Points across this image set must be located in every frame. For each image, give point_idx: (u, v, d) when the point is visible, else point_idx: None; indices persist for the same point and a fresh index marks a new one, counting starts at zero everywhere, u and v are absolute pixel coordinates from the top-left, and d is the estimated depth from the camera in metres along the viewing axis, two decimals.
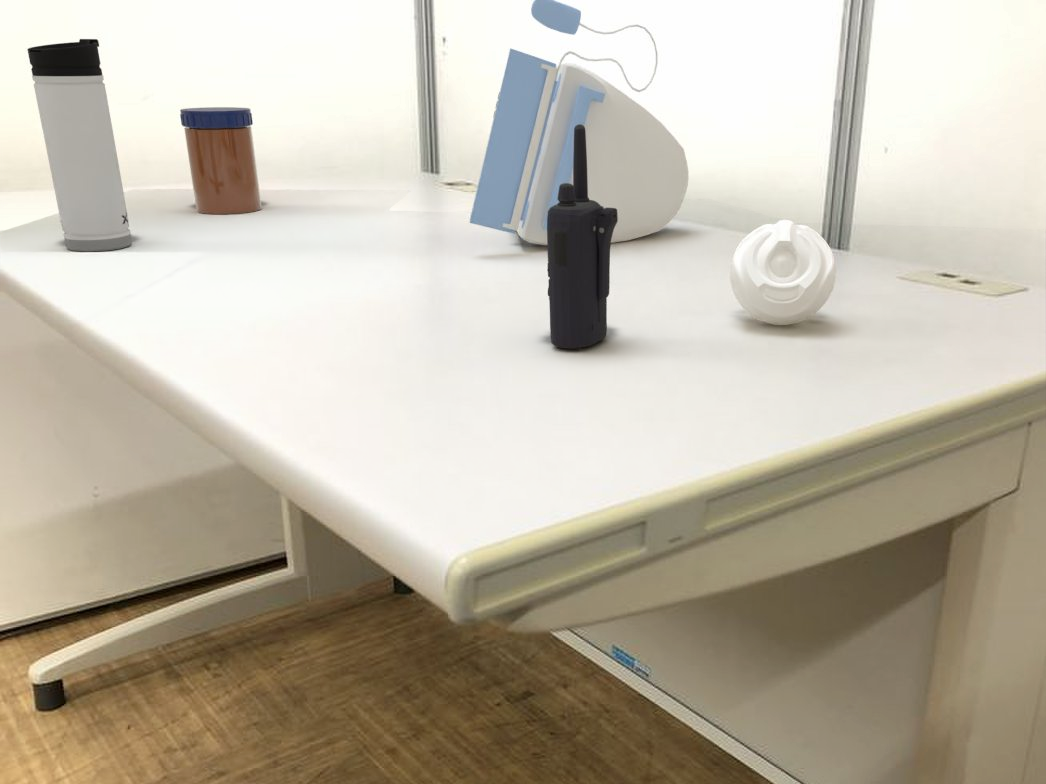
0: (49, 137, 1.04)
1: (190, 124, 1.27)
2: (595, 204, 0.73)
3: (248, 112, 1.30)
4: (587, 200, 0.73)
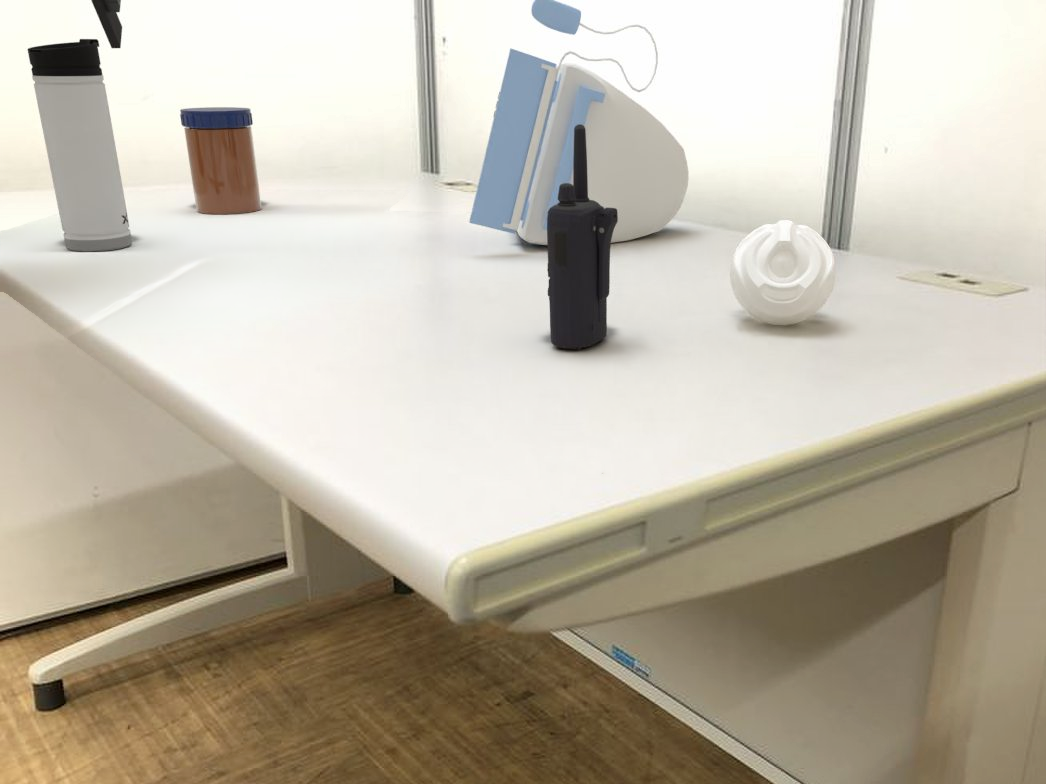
0: (49, 137, 1.04)
1: (190, 124, 1.27)
2: (595, 204, 0.73)
3: (248, 112, 1.30)
4: (587, 200, 0.73)
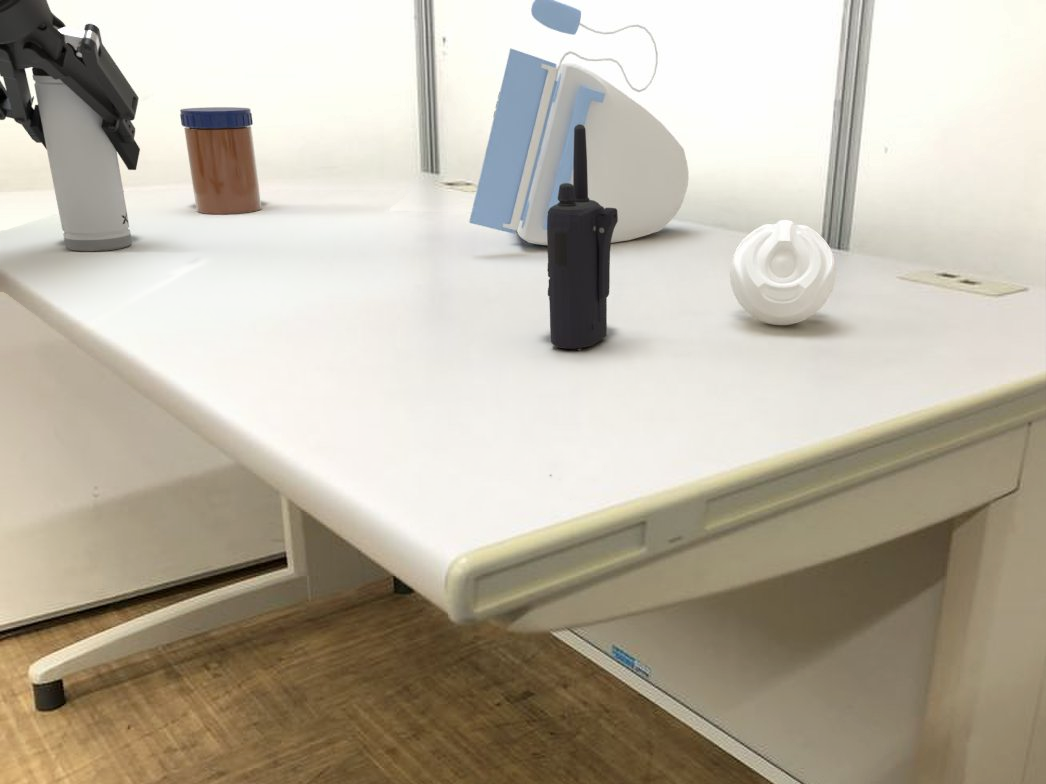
0: (50, 137, 1.04)
1: (190, 124, 1.27)
2: (595, 204, 0.73)
3: (248, 112, 1.30)
4: (587, 200, 0.73)
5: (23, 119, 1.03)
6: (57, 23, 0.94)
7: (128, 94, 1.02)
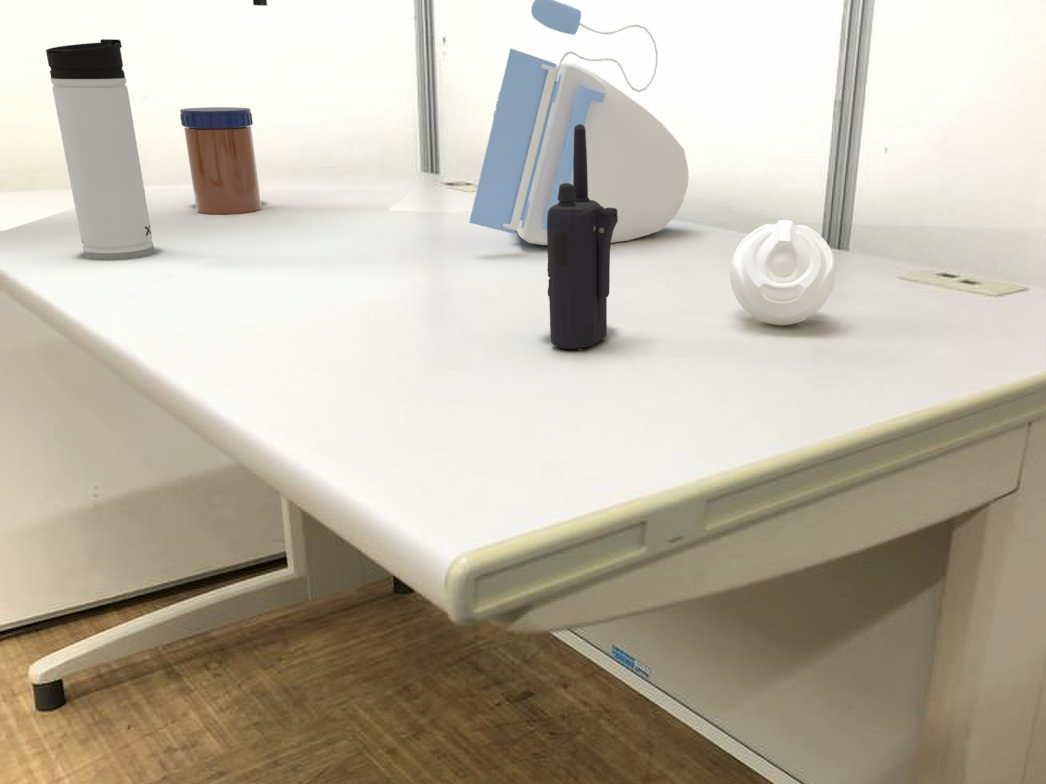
0: (69, 144, 0.97)
1: (190, 124, 1.27)
2: (595, 204, 0.73)
3: (248, 112, 1.30)
4: (587, 200, 0.73)
5: None
6: None
7: None
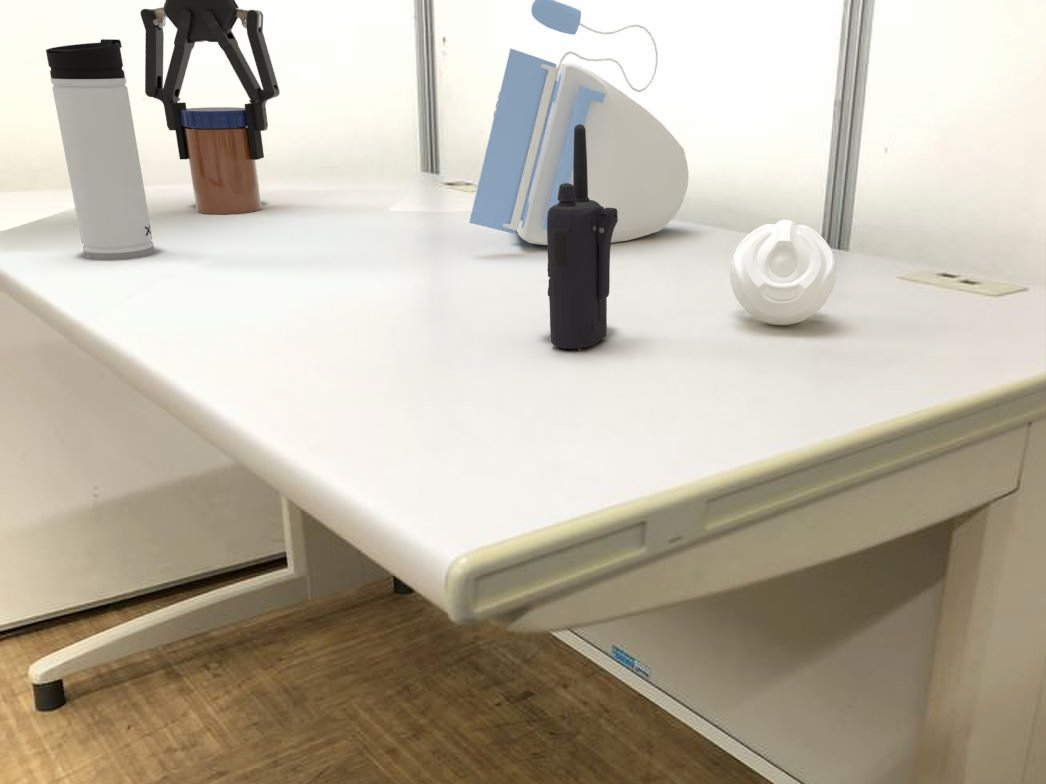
0: (69, 144, 0.97)
1: (190, 124, 1.27)
2: (595, 204, 0.73)
3: None
4: (587, 200, 0.73)
5: (168, 96, 1.28)
6: (234, 5, 1.26)
7: (273, 78, 1.29)
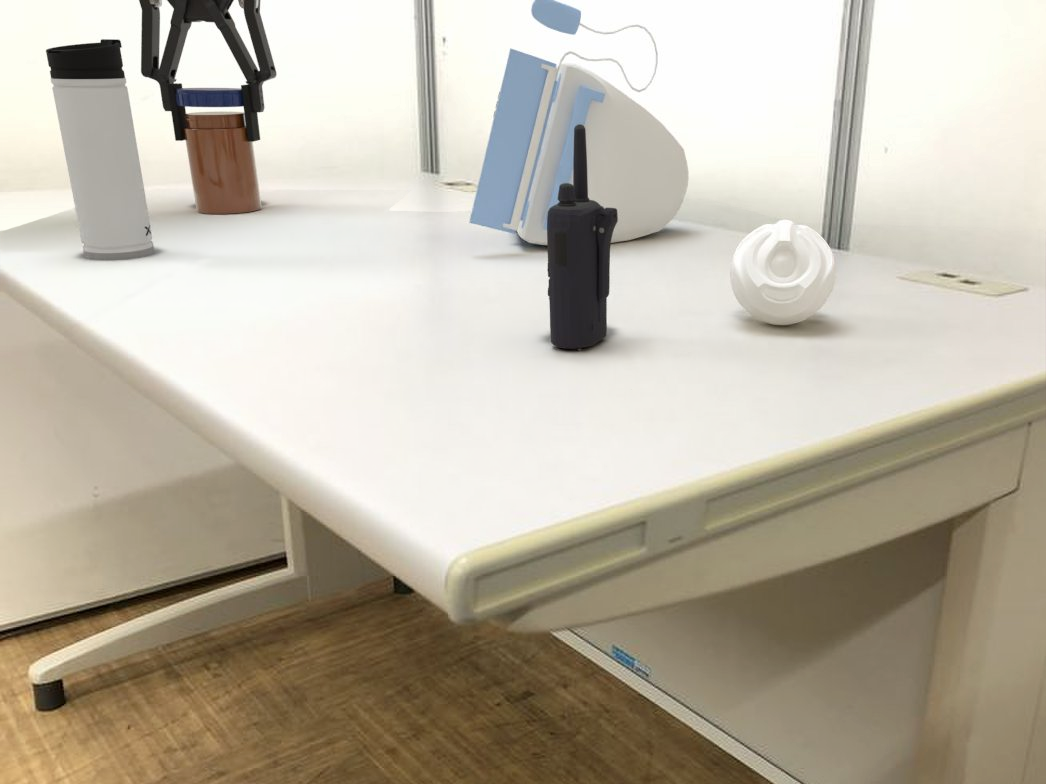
0: (69, 144, 0.97)
1: None
2: (595, 204, 0.73)
3: None
4: (587, 200, 0.73)
5: None
6: None
7: None
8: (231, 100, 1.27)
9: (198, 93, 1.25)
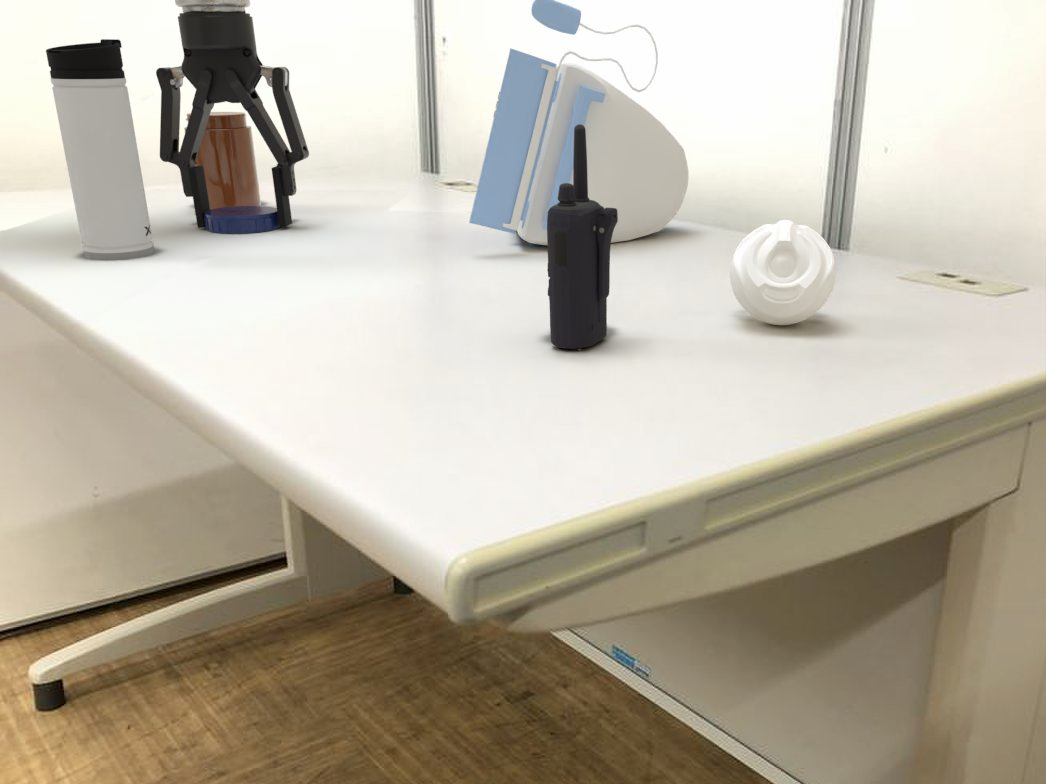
0: (69, 144, 0.97)
1: None
2: (595, 204, 0.73)
3: None
4: (587, 200, 0.73)
5: None
6: None
7: None
8: (263, 224, 1.19)
9: (229, 219, 1.18)
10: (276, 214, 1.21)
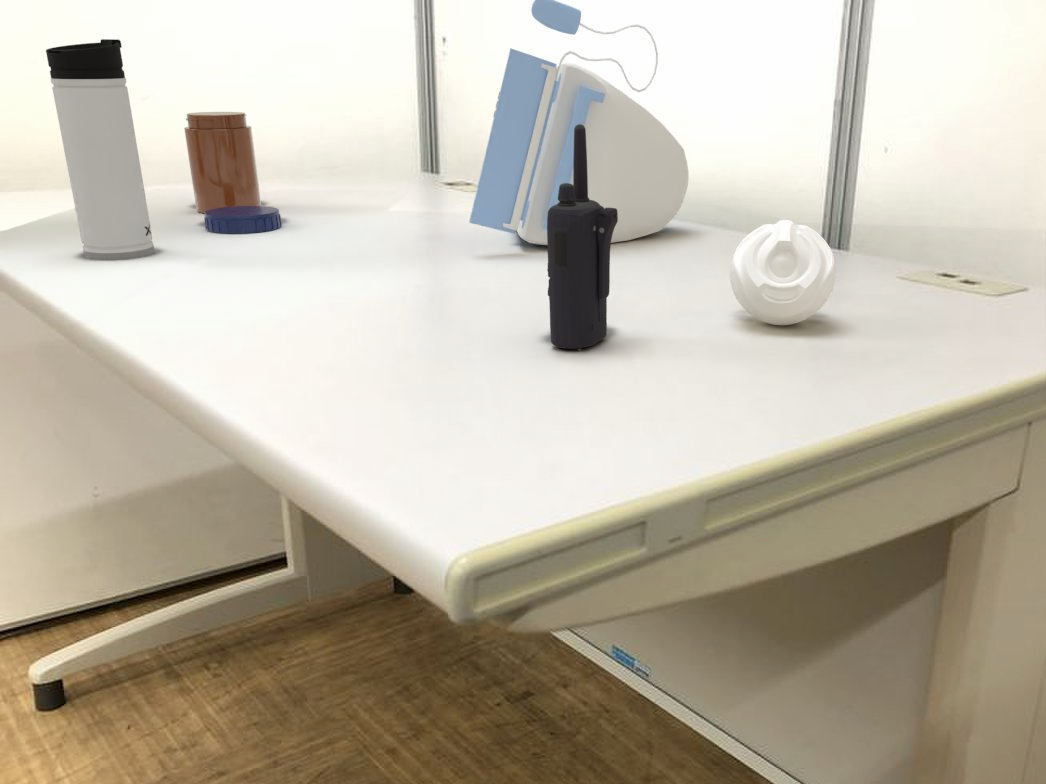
0: (69, 144, 0.97)
1: None
2: (595, 204, 0.73)
3: None
4: (587, 200, 0.73)
5: None
6: None
7: None
8: (263, 224, 1.19)
9: (229, 219, 1.18)
10: (276, 214, 1.21)
